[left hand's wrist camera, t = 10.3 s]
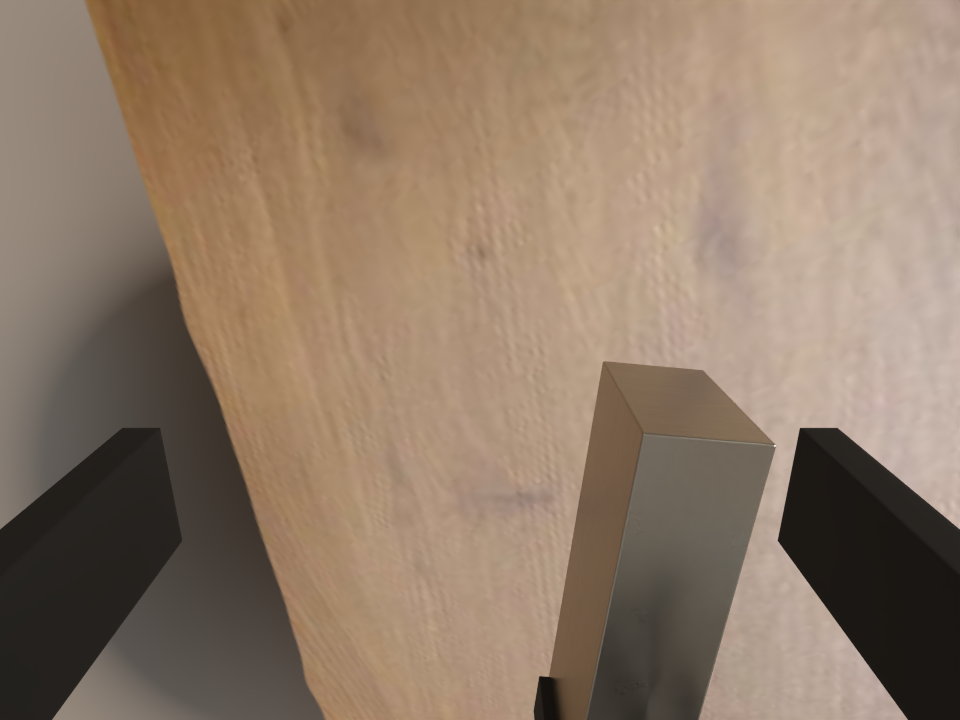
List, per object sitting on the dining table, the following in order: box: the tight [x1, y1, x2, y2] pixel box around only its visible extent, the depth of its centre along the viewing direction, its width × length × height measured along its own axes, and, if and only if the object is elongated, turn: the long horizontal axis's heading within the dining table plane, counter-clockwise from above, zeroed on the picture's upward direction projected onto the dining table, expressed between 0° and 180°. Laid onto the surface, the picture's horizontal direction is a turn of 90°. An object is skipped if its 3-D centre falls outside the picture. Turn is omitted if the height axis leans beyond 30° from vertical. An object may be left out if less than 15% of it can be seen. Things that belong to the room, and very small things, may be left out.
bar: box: [549, 361, 776, 720], centre depth 32 cm, size 26×5×8 cm, turn 175°
